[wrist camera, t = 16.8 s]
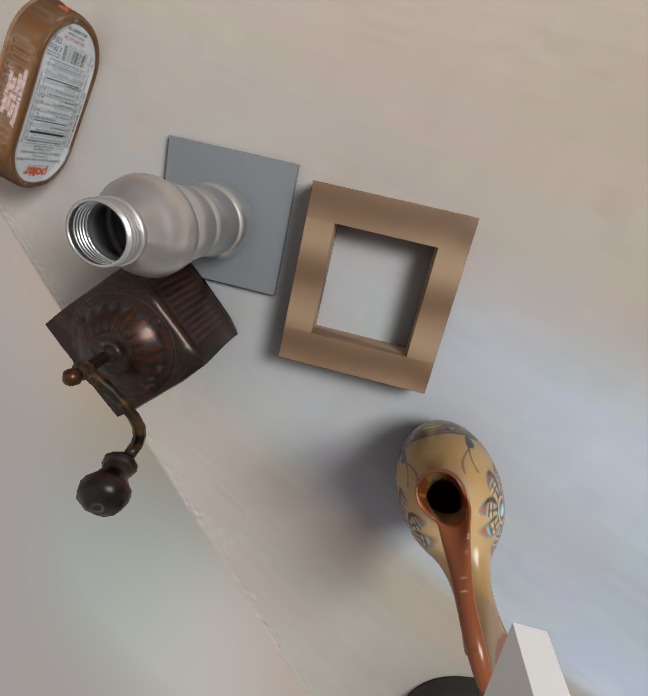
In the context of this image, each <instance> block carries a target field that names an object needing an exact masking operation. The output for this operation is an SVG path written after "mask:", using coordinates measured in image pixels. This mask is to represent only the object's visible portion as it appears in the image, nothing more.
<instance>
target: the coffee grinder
mask: <svg viewBox="0 0 648 696" xmlns="http://www.w3.org/2000/svg"><path fill="white" fill-rule="evenodd" d="M46 326H47V327H48V329H49V330H50V331H51V332H52V334H53V335H54V337H55V338H56V339H57V341H58V342H59V343H60V345H61V346H62V347H63V349H64V350H65V351H66V352H67V354H68V355H69V356H70V358H71V359H72V360H73V362H74V365H73V366H72V368H71V369H67V370H66V371H64V372H63V383H64V384H65V385H68V386H74V385H78V384H80V383H81V381H82V380H87V381H88V382H89V383H90V384H91V385H93V387H94V388H95V389H96V390H97V392H98V393H99V394H100V396H101V397H102V398H103V399H104V401H105V402H106V403H107V404H108V406H109V407H110V408H111V409H112V411H113V412H114V413H115V414H116V415H117V416H121V415H123V414H124V415H125V416H126V417H127V418H128V420H129V422H130V424H131V426H132V430H133V438H132V441H131V443H130V444H129V446H128V447H127V449H126V450H125V451H124V452H111V453H107V454H106V455H105V457H104V459H103V461H102V468H101V469H100V470H98V471H96V472H94V473H91V474H89V475H86V476H85V477H84V478H83V479H82V480H81V481H80V484H79V487H78V490H77V496H76V499H77V500H78V502H79V503H80V504H81V505H82V507H83V508H84V510H86V511H88V512H91V513H93V514H95V515H98V516H102V517H107V516H113V515H115V514H117V513H118V512H119V511H121V510H122V509H123V508H124V507H125V506H126V505H127V504H128V502H129V500H130V498H131V492H132V491H131V488H130V486H129V483H128V478H129V477H131V476H132V475H133V474H134V473H136V472H137V468H138V465H137V463H136V461H135V459H134V458H135V456H136V455H137V454H138V452H139V451H140V449H141V448H142V446H143V444H144V441H145V438H146V426H145V424H144V422H143V420H142V418H141V417H140V415H139V413H138V412H137V411H136V410H135V409H136V408H138V407H140V406H142V405H143V404H145V403H147V402H148V401H150V400H152V399H153V398H155V397H157V396H158V395H160V394H162V393H163V392H165V391H167V390H169V389H170V388H172V387H174V386H176V385H178V384H179V383H181V382H183V381H184V380H185V379H187V378H188V377H189V376H191V375H192V374H193V373H195V372H196V371H197V370H199V369H200V368H201V367H203V366H204V365H205V364H206V363H208V362H209V361H210V360H211V359H212V357H213V356H214V355H215V354H216V353H217V352H218V351H219V350H220V349H221V348H222V347H223V346H224V345H225V344H226V343H227V342H228V341H229V340H231V339H232V338H233V337H234V336H236V335H237V334H238V333H237V330H236V328H235V326H234V324H233V322H232V320H231V318H230V316H229V315H228V313H227V312H226V310H225V309H224V307H223V306H222V304H221V303H220V301H219V300H218V299H217V297H216V296H215V294H214V293H213V291H212V290H211V289H210V287H209V286H208V284H207V283H206V281H205V280H204V279H203V277H202V276H201V275H200V273H199V272H198V271H197V269H196V268H195V267H194V266H193V264H192V263H191V262H190V263H189V264H187V265H186V266H185V267H183V268H182V269H181V270H179V271H177V272H175V273H173V274H170V275H168V276H165V277H160V278H148V277H144V276H140V275H136V274H132V273H130V272H128V271H126V270H124V269H122V268H121V269H119V270H118V271H116V272H114V273H113V274H111V275H110V276H109V277H107V278H106V279H104V280H103V281H102V282H100V283H99V284H97V285H96V286H95V287H93V288H92V289H91V290H89V291H88V292H86V293H85V294H84V295H82V296H81V297H79V298H78V299H77V300H75V301H74V302H72V303H71V304H70V305H68V306H67V307H66V308H65V309H63V310H62V311H61V312H60V313H58V314H57V315H56V316H55V317H53V319H51V320H50V321H49V322H48V323H46Z"/></svg>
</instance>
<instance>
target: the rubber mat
mask: <svg viewBox="0 0 648 696" xmlns="http://www.w3.org/2000/svg"><path fill="white" fill-rule="evenodd" d="M299 166H300V165H298V164H294V163H289V162H285V161H281V160H276V159H272V158H267V157H263V156H259V155H254V154H250V153H246V152H241V151H237V150H232V149H228V148H224V147H219V146H215V145H210V144H206V143H202V142H197V141H193V140H189V139H184V138H180V137H175V136H171V135H169V145H168V155H167V165H166V175H165V179H166V180H168V181H170V182H173V183H175V184H178V185H183V186H192V185H194V184H196V183H200V182H204V181H220V182H224V183H226V184H228V185H230V186H232V187H233V188H235V189H236V190H238V191H239V192H240V193H241V194H242V195H243V196H244V197H245V198H246V200H247V201H248V202H249V204H250V206H251V209H252V212H253V216H254V231H253V234H252V237H251V239H250V241H249V242H248V244H247V245H246V246H245V247H244V248H243V249H242V250H241V251H240V252H239V253H237V254H236V255H234V256H231V257H228V258H208V257H200V258H198V259H195V260H193V261H192V262H191V263H192V264H193V266H194V267H195V268H196V269H197V271H198V272H199V273H200V275H201V276H202V277H203V278H206V279H210V280H214V281H218V282H222V283H226V284H230V285H234V286H238V287H242V288H246V289H250V290H254V291H258V292H262V293H266V294H270V295H275V294H276V289H277V283H278V278H279V273H280V267H281V262H282V257H283V251H284V246H285V241H286V235H287V230H288V225H289V219H290V214H291V209H292V203H293V198H294V193H295V187H296V182H297V177H298V171H299Z"/></svg>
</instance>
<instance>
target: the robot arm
mask: <svg viewBox="0 0 648 696" xmlns="http://www.w3.org/2000/svg"><path fill="white" fill-rule="evenodd" d="M409 696H480V694H479V691H478V688H477V685H476V681H475V679H474V678H467V677H446V678H440V679H436V680H433V681H430V682H427V683H425V684H423V685H421V686H419V687H418V688H416V689H415V690H414V691H413V692H412V693H411V694H410V695H409ZM484 696H570V694H569V691H568V688H567V685H566V683H565V680H564V677H563V674H562V672H561V669H560V666H559V663H558V661H557V658H556V655H555V652H554V649H553V647H552V644H551V641H550V638H549V636H548V633H547V632H546V631H543V630H539V629H535V628H531V627H527V626H524V625H520V624H516V623H512V626H511V628H510V631H509V633H508V636H507V638H506V641H505V643H504V646H503V648H502V651H501V654H500V656H499V659H498V661H497V664H496V666H495V669H494V671H493V674H492V676H491V679H490V681H489V684H488V686H487V689H486V691H485V694H484Z"/></svg>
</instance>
